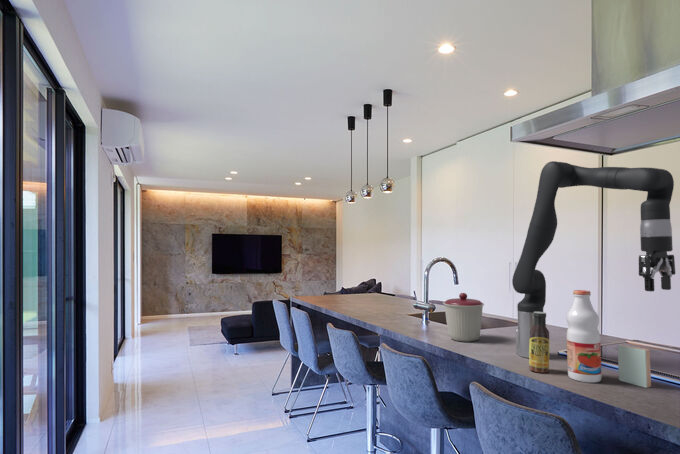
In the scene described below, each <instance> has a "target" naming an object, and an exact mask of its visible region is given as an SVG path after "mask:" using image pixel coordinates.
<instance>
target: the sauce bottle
mask: <svg viewBox="0 0 680 454" xmlns="http://www.w3.org/2000/svg"><path fill="white" fill-rule="evenodd" d="M533 316H534V323H533V324H534V325H533V326H532V328H531V330H530V339H529V358H528V359H529V360H528V365H529V370H530V371H532V372H535V373H538V374H539V373H543V374H546V373H548V372H550V371H549V369H550V331H549V329H548V328H547V324H546V323H547V322H546V321H547V312H544V311H543V312H533Z"/></svg>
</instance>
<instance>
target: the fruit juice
mask: <svg viewBox="0 0 680 454" xmlns="http://www.w3.org/2000/svg"><path fill="white" fill-rule="evenodd" d="M572 295H573V297H574V299H573V302H572V304H571V307H570V309H569V310H568V311H567V313H566V323H567V325H568V328H567V330H566V356H567V357H566V358H567V361H566V362H567V375H568V378H569V379H572V380H574V381H576V382H577V381H579V382H583V383H590V384H591V383H592V384H593V383H595V384H596V383H599V382H601V380H602V354H601V349H602V348H601V334H600V331H599V328H598V327H599V324H600V317H599V314H598V313H597V312H596V311H595V309H594V307H593V304H592V302H591V298H590V297H591V295H592V294H591V291H590V290H585V289H573V290H572Z"/></svg>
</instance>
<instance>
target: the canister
mask: <svg viewBox="0 0 680 454" xmlns="http://www.w3.org/2000/svg"><path fill="white" fill-rule="evenodd" d="M458 297H459V298H449V299H446V300H445V301H443V303H442V305H444V311H445V320H446V326H447V332H448V336H449V338H450V339H452V340H453V341H457V342H467V343H468V342H475V341H477V340H479V338H480V336H481V328H482V318H483V308H484V305H485V304H484V302H482V301H481V300H479V299H474V298H468V294H467V293H466V292H461V293H459V295H458Z"/></svg>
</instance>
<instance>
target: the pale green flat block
mask: <svg viewBox="0 0 680 454" xmlns="http://www.w3.org/2000/svg"><path fill="white" fill-rule="evenodd" d="M617 363H618V367H617V368H618V381H620V382H623V383H628V384H631V385H635V386H639V387H643V388H645V389H646V388H651V387H652V377H651V376H652V375H651V374H652V372H651V350H650V349H648V348H643V347H638V346H633V345H630V344H629V345H628V344H622V343H621V344H617Z"/></svg>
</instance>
